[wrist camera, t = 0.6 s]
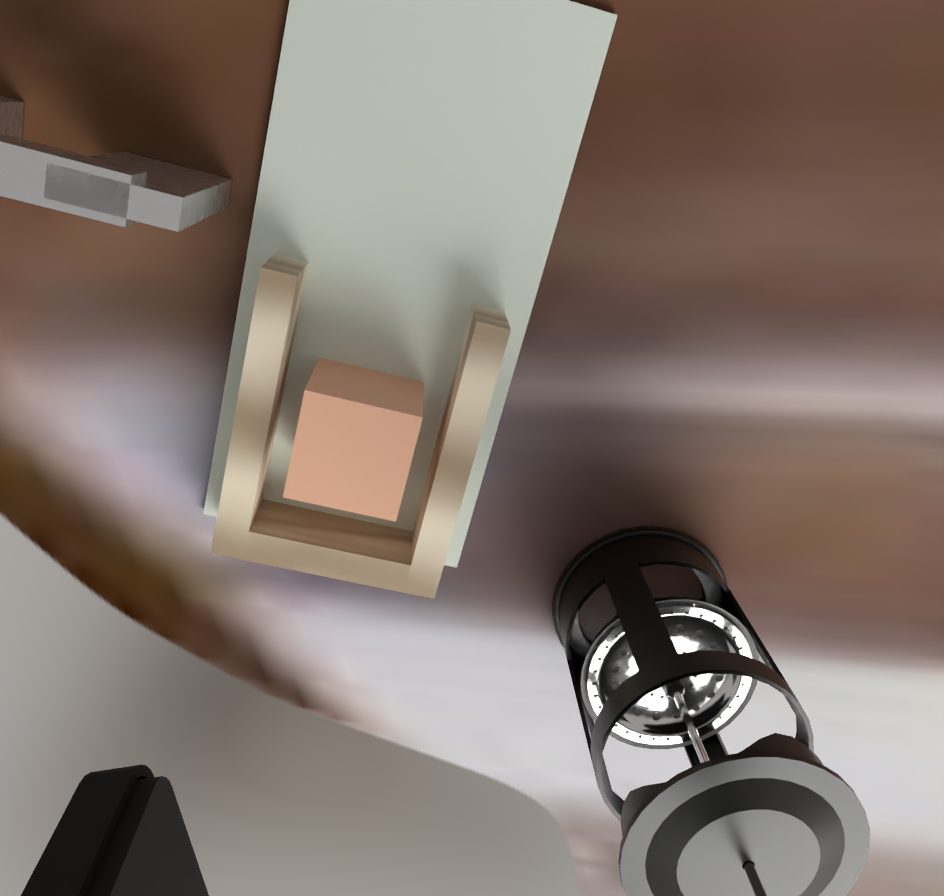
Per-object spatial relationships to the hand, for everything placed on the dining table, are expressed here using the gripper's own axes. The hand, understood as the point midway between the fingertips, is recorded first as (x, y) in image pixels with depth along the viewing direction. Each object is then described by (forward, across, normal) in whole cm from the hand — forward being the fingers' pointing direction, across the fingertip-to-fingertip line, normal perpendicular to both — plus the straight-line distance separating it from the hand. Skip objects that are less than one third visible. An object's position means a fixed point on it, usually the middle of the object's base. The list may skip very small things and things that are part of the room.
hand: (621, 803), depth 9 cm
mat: (+33, +4, 0) cm, 33 cm away
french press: (+33, -7, +19) cm, 39 cm away
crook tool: (+33, +15, -7) cm, 37 cm away
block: (+32, +6, +6) cm, 33 cm away
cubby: (+32, +6, +6) cm, 33 cm away
